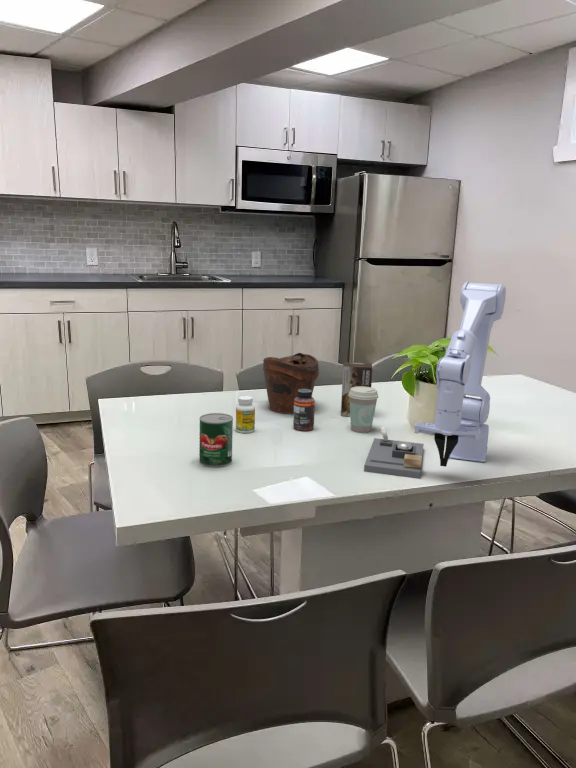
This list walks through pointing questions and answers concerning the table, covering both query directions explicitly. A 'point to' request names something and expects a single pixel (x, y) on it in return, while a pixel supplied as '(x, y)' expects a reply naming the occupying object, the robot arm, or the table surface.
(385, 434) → the off-white toggle lever
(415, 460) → the block
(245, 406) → the supplement bottle
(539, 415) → the table surface
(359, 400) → the coffee cup
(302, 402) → the supplement bottle
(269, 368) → the brown leather bucket
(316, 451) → the table surface
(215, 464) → the canned tomato
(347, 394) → the coffee box
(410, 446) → the steel push button
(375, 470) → the control panel
